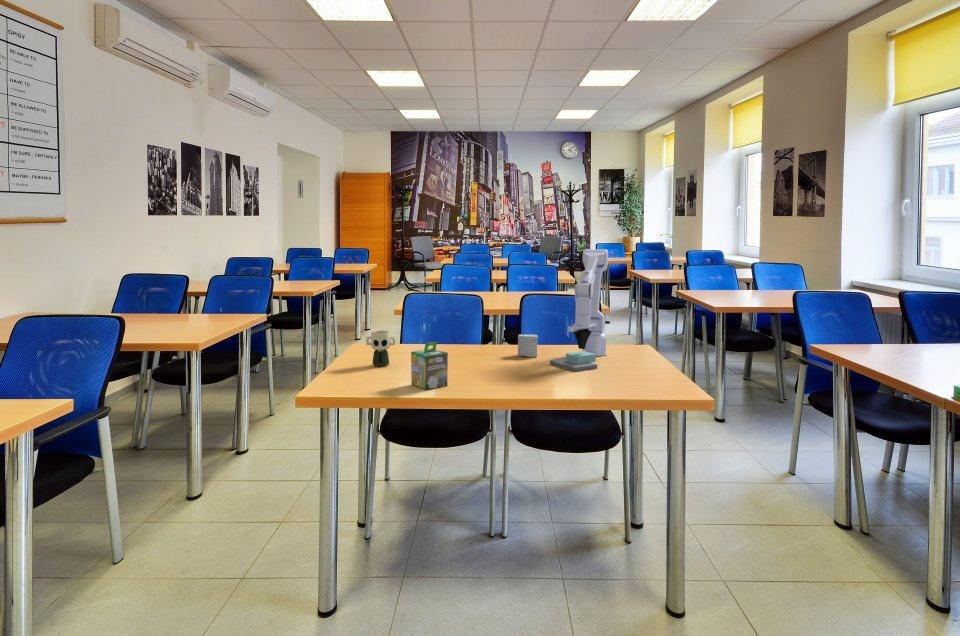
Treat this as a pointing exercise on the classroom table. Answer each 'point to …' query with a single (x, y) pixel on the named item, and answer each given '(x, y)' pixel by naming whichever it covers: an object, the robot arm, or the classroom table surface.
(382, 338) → the character mug
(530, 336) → the medicine box
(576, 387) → the classroom table surface
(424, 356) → the chalk box
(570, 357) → the teal slab
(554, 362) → the rubber pad
